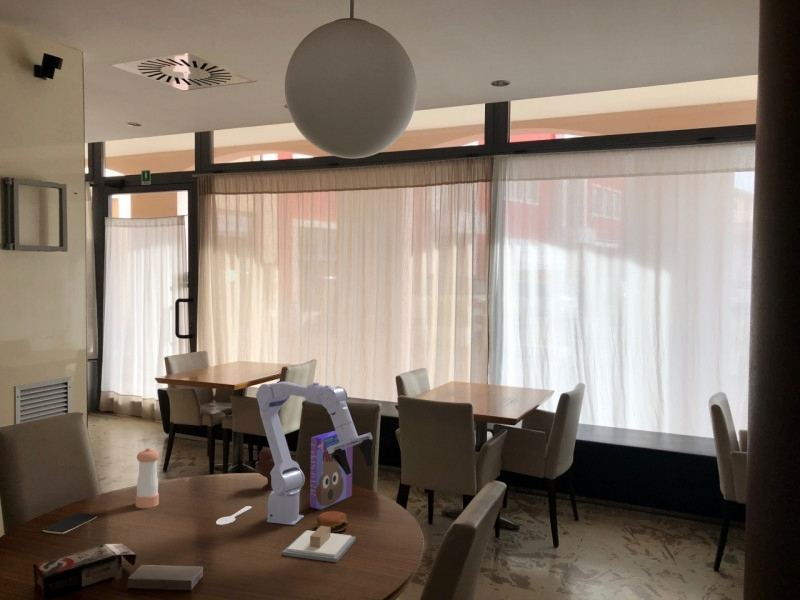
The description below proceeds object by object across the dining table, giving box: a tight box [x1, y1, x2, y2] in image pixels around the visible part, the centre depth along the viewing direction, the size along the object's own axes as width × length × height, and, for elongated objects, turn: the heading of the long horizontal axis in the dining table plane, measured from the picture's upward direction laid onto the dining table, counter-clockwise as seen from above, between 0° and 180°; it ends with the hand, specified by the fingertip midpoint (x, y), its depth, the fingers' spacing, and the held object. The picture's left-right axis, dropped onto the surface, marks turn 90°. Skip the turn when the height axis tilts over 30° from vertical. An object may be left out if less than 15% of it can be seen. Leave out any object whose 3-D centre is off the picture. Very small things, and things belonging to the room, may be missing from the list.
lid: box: [286, 526, 352, 557], centre depth 178 cm, size 14×14×4 cm
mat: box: [282, 530, 357, 563], centre depth 178 cm, size 16×16×1 cm
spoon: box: [215, 505, 253, 526], centre depth 202 cm, size 5×18×1 cm, turn 161°
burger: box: [316, 510, 349, 533], centre depth 193 cm, size 10×9×5 cm
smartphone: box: [42, 512, 98, 535], centre depth 192 cm, size 7×1×15 cm
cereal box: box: [309, 430, 354, 511], centre depth 217 cm, size 17×5×24 cm, turn 148°
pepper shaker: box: [135, 447, 160, 509], centre depth 211 cm, size 7×7×19 cm
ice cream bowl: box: [254, 447, 275, 492], centre depth 231 cm, size 11×11×15 cm
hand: (359, 469), depth 183 cm, fingers open, 7 cm apart
